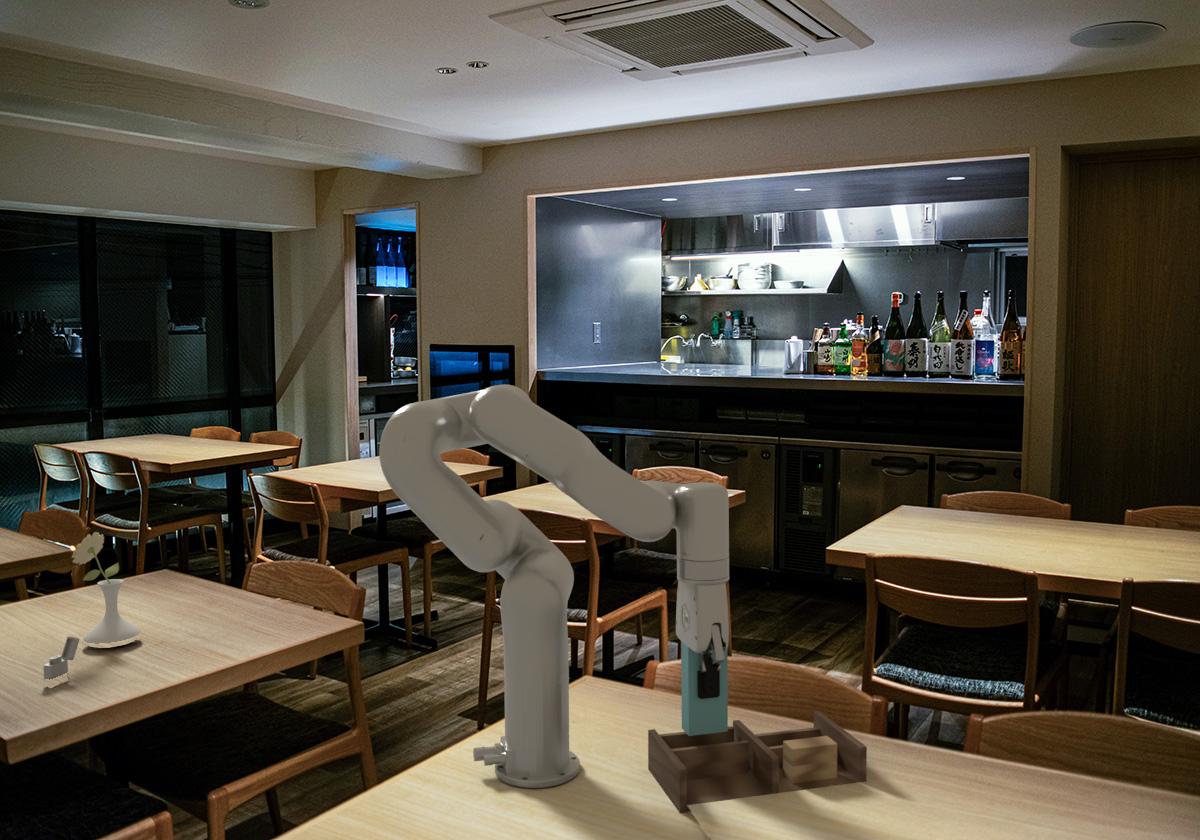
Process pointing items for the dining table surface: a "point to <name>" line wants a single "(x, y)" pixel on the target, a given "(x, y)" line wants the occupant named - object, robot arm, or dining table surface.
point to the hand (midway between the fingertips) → (704, 691)
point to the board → (702, 712)
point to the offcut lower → (809, 772)
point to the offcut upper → (809, 751)
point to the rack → (742, 762)
